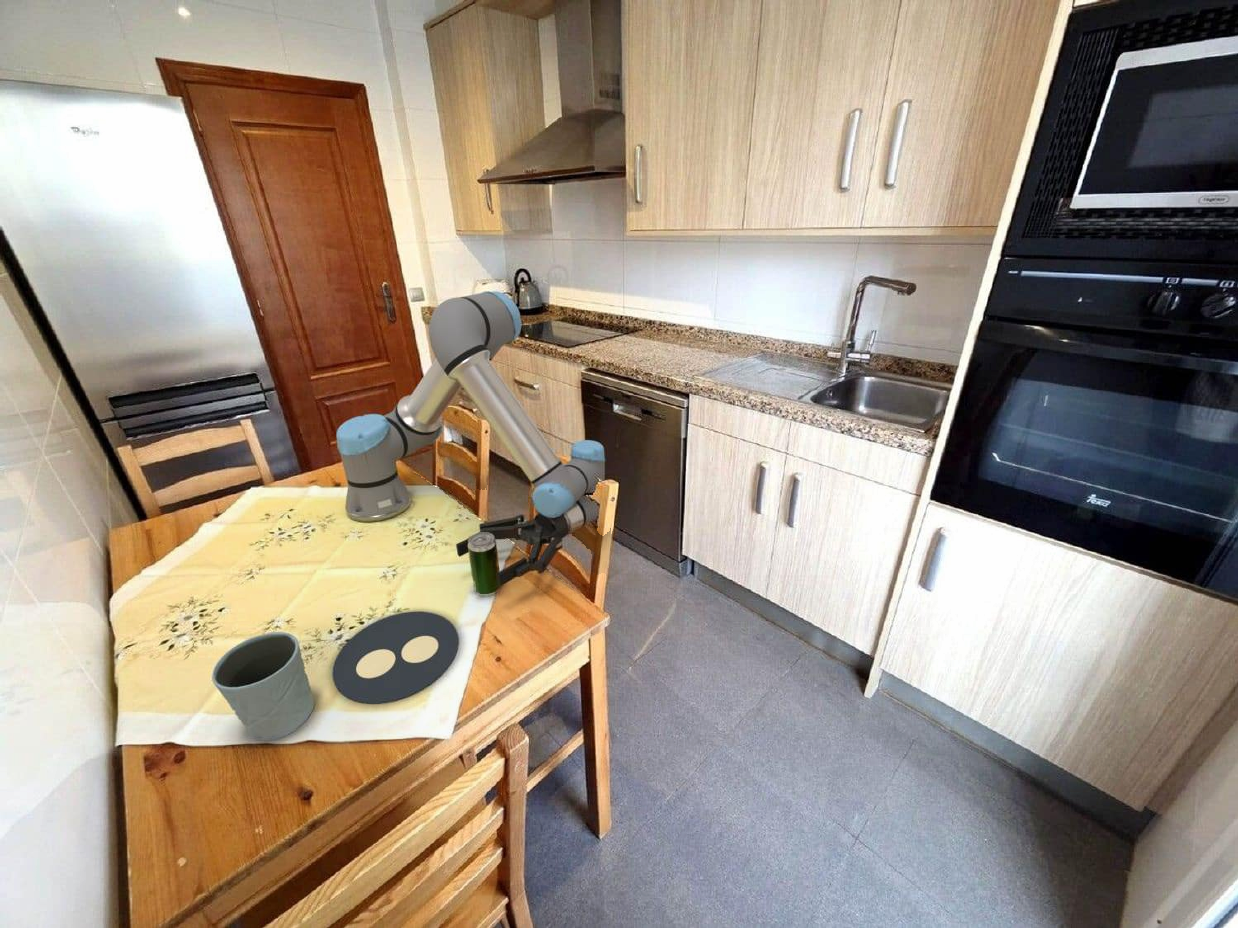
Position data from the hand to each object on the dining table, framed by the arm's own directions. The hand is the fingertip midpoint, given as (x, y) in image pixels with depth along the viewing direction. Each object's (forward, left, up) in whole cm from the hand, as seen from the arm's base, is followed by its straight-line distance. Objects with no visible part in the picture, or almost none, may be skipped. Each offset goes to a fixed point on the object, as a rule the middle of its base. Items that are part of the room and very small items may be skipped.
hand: (477, 564), depth 98 cm
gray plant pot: (+14, -33, -7) cm, 37 cm away
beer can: (-1, +2, -7) cm, 7 cm away
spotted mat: (+9, -16, -7) cm, 20 cm away
